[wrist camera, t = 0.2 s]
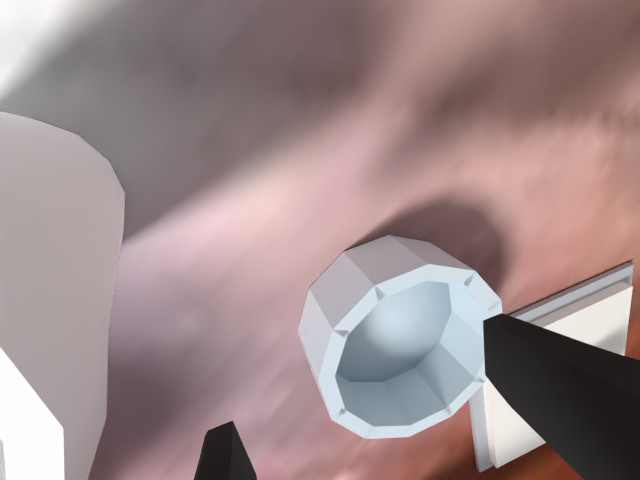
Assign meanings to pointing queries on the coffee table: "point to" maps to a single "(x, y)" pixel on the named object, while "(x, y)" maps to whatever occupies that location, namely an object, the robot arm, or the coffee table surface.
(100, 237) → the foam cup
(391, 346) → the bowl
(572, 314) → the lid
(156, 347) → the coffee table surface
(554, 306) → the mat
